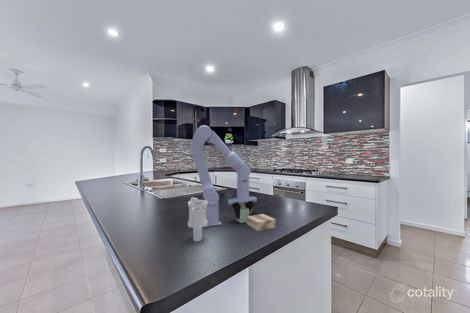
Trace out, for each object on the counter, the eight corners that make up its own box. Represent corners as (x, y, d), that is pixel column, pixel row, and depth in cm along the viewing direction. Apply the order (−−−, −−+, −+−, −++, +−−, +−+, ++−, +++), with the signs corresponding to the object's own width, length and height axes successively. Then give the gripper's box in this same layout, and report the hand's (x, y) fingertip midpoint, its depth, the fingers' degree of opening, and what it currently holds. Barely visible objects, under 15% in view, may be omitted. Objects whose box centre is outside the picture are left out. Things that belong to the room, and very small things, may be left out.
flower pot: (248, 216, 102) (248, 199, 101) (234, 213, 107) (234, 197, 107) (258, 212, 109) (258, 196, 109) (244, 209, 115) (244, 194, 115)
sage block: (240, 223, 92) (240, 210, 92) (236, 220, 96) (236, 207, 96) (249, 221, 94) (249, 208, 94) (244, 218, 98) (244, 206, 98)
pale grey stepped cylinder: (198, 234, 78) (199, 196, 78) (211, 239, 74) (211, 198, 74) (183, 240, 73) (184, 198, 73) (196, 245, 68) (196, 201, 68)
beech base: (258, 232, 82) (258, 222, 82) (246, 225, 90) (246, 216, 90) (275, 228, 86) (275, 219, 86) (263, 222, 94) (263, 213, 94)
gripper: (232, 191, 88) (232, 222, 88) (260, 189, 94) (260, 218, 94) (226, 189, 94) (226, 218, 94) (252, 187, 101) (252, 214, 101)
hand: (242, 217), depth 95 cm, fingers closed on sage block, 4 cm apart
